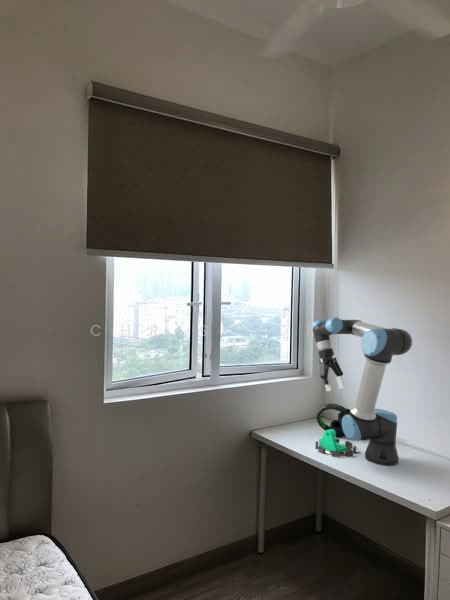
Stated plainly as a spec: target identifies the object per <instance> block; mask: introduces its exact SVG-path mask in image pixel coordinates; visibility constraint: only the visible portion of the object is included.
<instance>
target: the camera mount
mask: <svg viewBox="0 0 450 600" xmlns="http://www.w3.org/2000/svg"><path fill="white" fill-rule="evenodd" d="M320 439H321V440H320V441H319V440H318V446H320V445H321V446H323V447H324V448H326V451H328V452H330V453H331V452H332V450H335V451H340V452H344V451H347V447H345V445H344V446H343V444H342V443H340V442H339V443H337V442H336V441H335V439H336V432H335V430H334V429H330V430H326V431H325V430H324V433H323V435H322V436H321V438H320Z"/></svg>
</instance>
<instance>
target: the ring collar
mask: <svg viewBox="0 0 450 600" xmlns="http://www.w3.org/2000/svg"><path fill="white" fill-rule="evenodd" d="M320 440H321V438H319V440H318V441H315V449H316V450H317V452H318V453H321V454H322V455H325V454H327V455H330V456H331V457H333V458H334V457H336V458H340V457H345V458H346V457H347V458H349V457H353V456H354V454H357V446H356V445H353V442H351V441H348V440H346V441H344V442H345V444H344V445H343V444H342V445H343V446H345V447H347V451H344V452H340V451H335V450H332V452H331V453H330V452H328V451H326V448H324V447H323V446H321V445H319V441H320ZM335 441H336V442H337V443H339V444H340V438H335Z"/></svg>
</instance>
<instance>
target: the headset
mask: <svg viewBox="0 0 450 600" xmlns="http://www.w3.org/2000/svg"><path fill="white" fill-rule="evenodd" d="M350 409H351V408H350ZM350 409H349V408H346V407H345V406H342V405H339V404H338V403H325V404H323V405H321V406H320V407H319V408H318V410H317V414H316V422H317V424H318V426H319V427H320V428H321V429H322V430H323V431H324V432H325V431H326V430H330V429H334V430H335V432H336V437H335V439H340V438H344V437H346V435H345V434H344V432H343V429H342V418H343V417H344V416H345V415H349V413H350ZM327 410H328V411H329V410H334V411H339V413H338V414H337V419H333V420H331V422H330V423H329V425H328V424H327V423H325V422H324V420H322V418H321V415H322V414H323V412H325V411H327Z"/></svg>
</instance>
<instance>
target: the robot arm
mask: <svg viewBox="0 0 450 600" xmlns="http://www.w3.org/2000/svg"><path fill="white" fill-rule="evenodd" d="M311 328H312V329H311V330H312V333H313V336H314V340H315V343H316V347H317V350H318V356H319V358H320V359H319V377H320V379H321V380H322V379H323V381H324V382H323V383H324V386H325V390H326V392H331V391H332V390H333V388H332V386H331V381H330V377H328V375H329V370H330V369H331V370H332V371H333V373H334V374H335V376H336V377H335V378H336V380H337V381H336V382H337V384H338V385H337V386H338V390H341V389H342V390H343V389H345V383H344V380H343V377H342V376H344V372H343V371H342V368H341V367H340V364H339V362H338V359H337V358H336V357H333V356H334V355H335V352H334V349H333V345H332V342H331V337H330V336H332V335H352V336H355V337H359V338H361V341H360V346H361V351H362V352H363V356H364V358H365V364H364V368H363V372H362V375H361V379H360V384H359V388H358V392H357V395H356V399H355V404H354V405H353V406H351V407H350V413H349V415H345V416H344V417H343V418H342V429H343V432H344V434H345V435H346V436H345V437H346V438H347V439H348V440H349V441H353V442H357V441H358V442H360V441H367V440H369V442H368V445H367V446H366V449H365V452H364V458H365V460H367V461H368V462H371V463H374V464H376V465H382V466H396V465H398V464H399V459H400V458H399V455H398V450H397V446H396V445H397V443H396V441H397V428H398V416H397V415H396V413H394V412H392V411H391V410H390V411H389V410H385V409H379V408H376V405H377V401H378V397H379V394H380V389H381V387H382V383H383V379H384V375H385V371H386V368H387V365H389V364H390V363H392V359H393V356H400V355H401V356H402V355H405V354H406V353H408V352H409V351H410V350H411V348H412V346H413V338H412V336H411V334H410V333H409V332H408V331H407V330H404V329H401V328H396V327H395V328H394V327H393V328H386V327H383V326H379V325H375V324H370V323H366V322H363V321H362V320H360V319H340V318H339V317H337V316H336V317H331V318H328V320H325V319H318V320H315V321H313V322H312V323H311Z"/></svg>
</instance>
